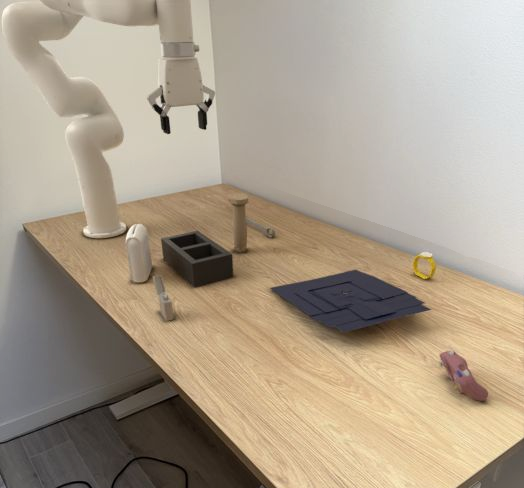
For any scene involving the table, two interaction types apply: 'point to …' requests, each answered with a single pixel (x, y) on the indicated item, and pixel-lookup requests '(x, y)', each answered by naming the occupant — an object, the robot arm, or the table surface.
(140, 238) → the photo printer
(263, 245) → the table surface
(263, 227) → the combination wrench
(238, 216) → the handle
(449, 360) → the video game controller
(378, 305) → the navy flat block
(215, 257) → the holder
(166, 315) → the lighter
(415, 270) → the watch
